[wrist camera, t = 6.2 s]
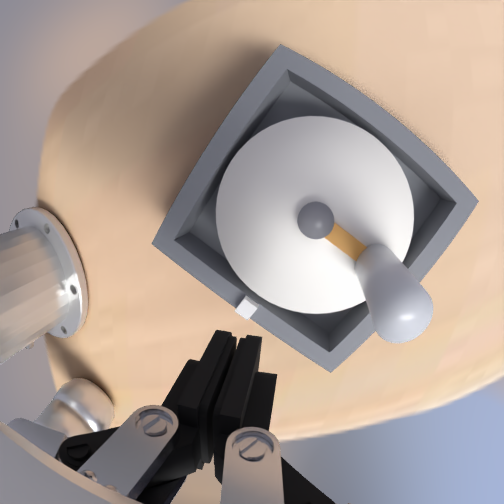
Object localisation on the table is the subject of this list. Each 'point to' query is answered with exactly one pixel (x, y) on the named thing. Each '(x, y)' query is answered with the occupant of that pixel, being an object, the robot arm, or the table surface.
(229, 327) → the table surface
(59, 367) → the table surface
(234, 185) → the white crank wheel
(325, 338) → the housing
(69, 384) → the plastic bottle
